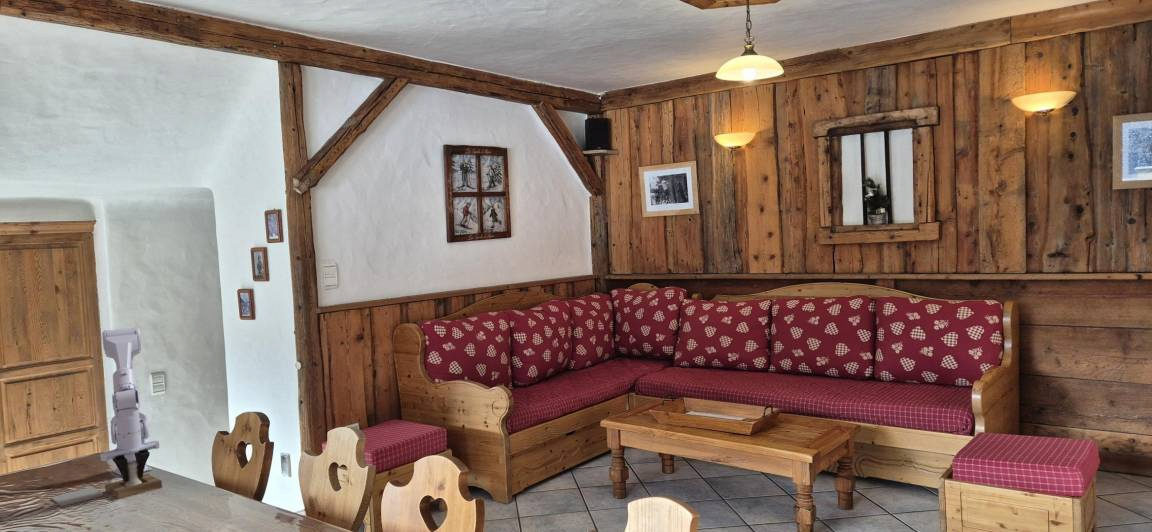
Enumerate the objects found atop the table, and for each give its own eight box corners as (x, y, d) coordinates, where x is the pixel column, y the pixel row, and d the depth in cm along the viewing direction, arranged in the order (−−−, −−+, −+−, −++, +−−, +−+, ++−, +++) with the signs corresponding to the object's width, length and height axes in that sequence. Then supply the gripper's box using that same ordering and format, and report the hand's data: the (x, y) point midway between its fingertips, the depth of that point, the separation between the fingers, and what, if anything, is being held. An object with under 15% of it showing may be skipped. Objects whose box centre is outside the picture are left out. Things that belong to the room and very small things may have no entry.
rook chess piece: (136, 491, 212) (134, 463, 212) (121, 492, 212) (118, 464, 212) (146, 486, 216) (143, 458, 216) (130, 487, 217) (128, 459, 216)
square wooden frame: (105, 491, 214) (105, 484, 214) (147, 480, 222) (147, 473, 222) (118, 499, 207) (118, 492, 206) (162, 487, 215) (161, 480, 215)
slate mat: (51, 499, 210) (51, 497, 210) (92, 488, 217) (92, 486, 217) (61, 506, 203) (61, 504, 203) (103, 495, 210) (103, 493, 210)
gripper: (104, 440, 205) (108, 489, 206) (161, 428, 216) (165, 474, 217) (96, 436, 210) (100, 484, 211) (152, 424, 221) (156, 470, 222)
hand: (133, 479), depth 214 cm, fingers closed on rook chess piece, 3 cm apart
